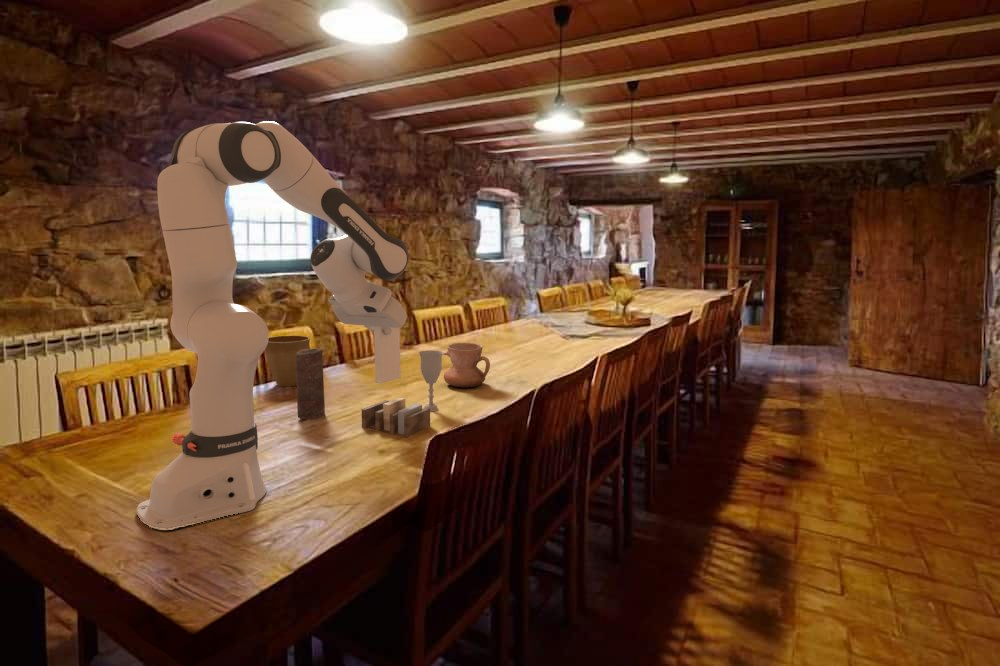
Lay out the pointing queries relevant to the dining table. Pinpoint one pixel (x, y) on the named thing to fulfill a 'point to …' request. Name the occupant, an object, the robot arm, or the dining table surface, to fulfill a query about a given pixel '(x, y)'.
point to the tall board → (387, 355)
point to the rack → (395, 420)
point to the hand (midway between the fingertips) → (383, 332)
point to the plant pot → (285, 357)
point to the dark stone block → (310, 384)
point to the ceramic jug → (465, 365)
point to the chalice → (431, 372)
